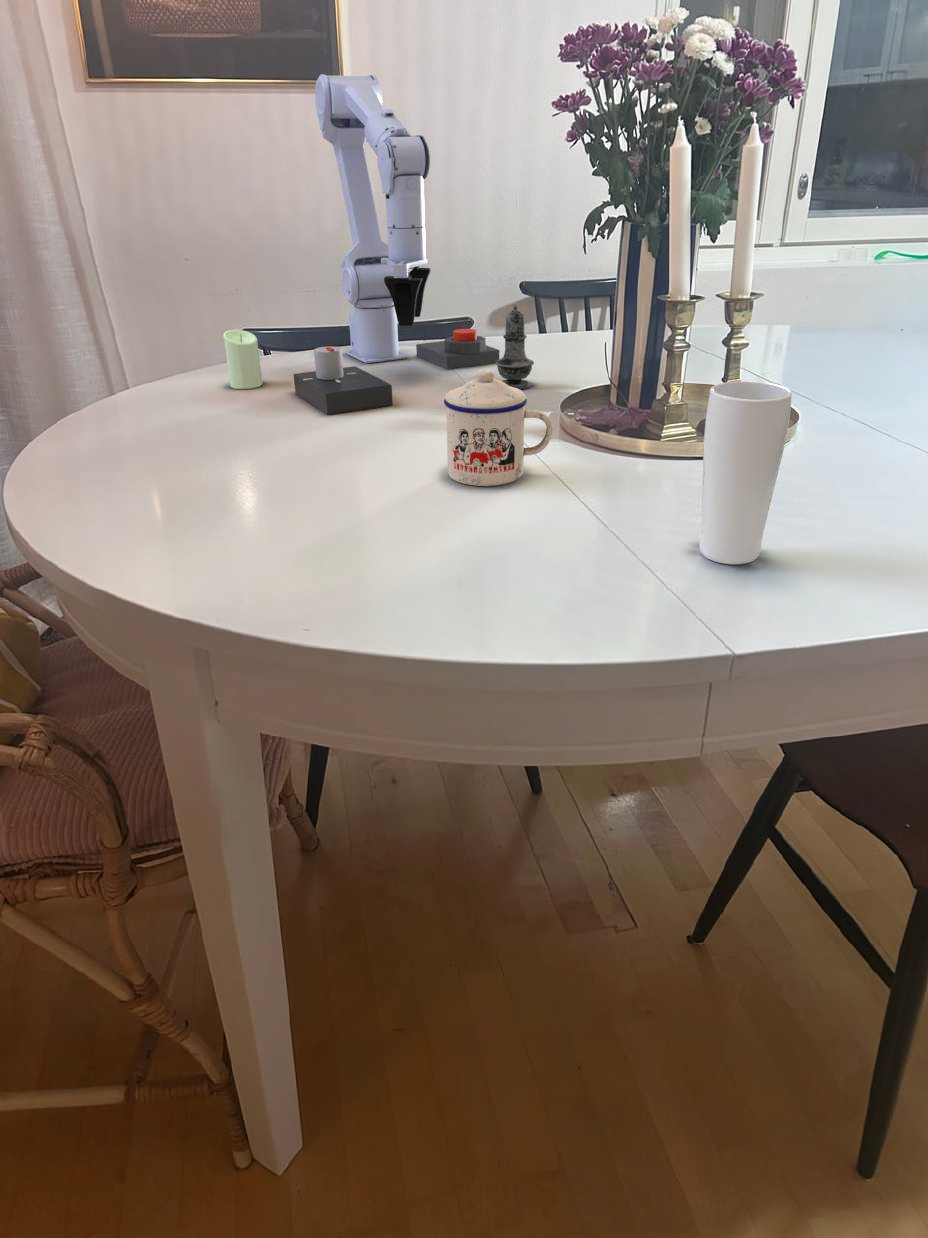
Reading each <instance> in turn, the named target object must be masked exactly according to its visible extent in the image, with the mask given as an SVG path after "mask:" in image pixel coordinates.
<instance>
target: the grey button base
mask: <svg viewBox="0 0 928 1238" xmlns="http://www.w3.org/2000/svg"><path fill="white" fill-rule="evenodd" d="M486 339H487V338H486V337H484V336H481V335H477V341H471V342H458V341H453V335H451V336H448V337H445V338H444V340H440V341H431V342H423V343H416V344H415V346H416V347H415V349H416V357H417V358H419V359H421V360H423V361H426V362H428V363H431V364H433V365H435V366H437V367H440V368H442V369H444V370H457V369H462V368H463V369H464V368H473V367H479V366H486V365H494V364H496V361H497V360H500V349H498V348H495V347H492V346H489V345H487V340H486Z"/></svg>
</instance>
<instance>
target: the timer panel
mask: <svg viewBox="0 0 928 1238" xmlns="http://www.w3.org/2000/svg"><path fill="white" fill-rule="evenodd" d="M343 375H344V376H343V377H342V378H340V379H334V380H321V379H318V378H317V377H316V370H314V371H306V372H298V373H293V382H294V392H295V395H297V396H298V397H300V398H302V399H303V400H304V401H306V402H308V403H309V404H310V405H312V406H314V407H315V408H317V409H318V410H320V411H321V412H323V413H324V414H325V415H328V416H329V415H337V414H343V413H349V412H357V411H364V410H370V409H377V408H385V407H390V406H393V405H394V404H393V403H394V402H393V385H392V384H391V383H389V382H387V381H385V380H384V379H381V378H379V377H377V376H375V375H373V374H372V373H369V372H367V371H365V370H363V369H361V367H358V366H356V365H352V366H346V367H343Z"/></svg>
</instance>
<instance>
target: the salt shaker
mask: <svg viewBox="0 0 928 1238" xmlns="http://www.w3.org/2000/svg"><path fill="white" fill-rule="evenodd" d="M512 309H513V310H511V311H509V312H508V313H507V314H506V316H505V334H504V335H503V336H502V338H503V339H504V353H503V357H502V358H499V360H497V361H496V363H495V365H496V366H497V371H498V373H499V375H500V376H501V378H503V379H504V380H501V381H502V382H504V383H505V384H507V385H508V386H511V387H514V388H517V389H519V390H521V391H522V390H527V389H529V388H531V387H532V385H533V384H532V383H531V382H529V381H528V380H526V378H527V377H528V376H529V375H530V374H531V371H532V370H533V366H534V363H535V361H534V360H533V359H529V358H528V357H527V355H526V351H525V350H526V349H525V347H526V346H525V343H526V339H527V337H528V336H527V335H526V334H525V322H526V321H525V315H524V313H522V311H520V310H518V306H517V304H514V305H513V307H512Z"/></svg>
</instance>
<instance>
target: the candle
mask: <svg viewBox="0 0 928 1238" xmlns="http://www.w3.org/2000/svg"><path fill="white" fill-rule="evenodd" d="M222 335H223V344H224V350H225V351H224V352H225V358H226V366H227V373H228V381H229V387H231V389H234V390H252V389H256V388H260V387H261V386H262V385H263V378H262V367H261V361H260V359H261V358H260V351H259V343H258V338H257V335H255V334H254V333H252V332H250V331H247V330H241V329H229V330H226V331H224V333H223V334H222Z"/></svg>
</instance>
